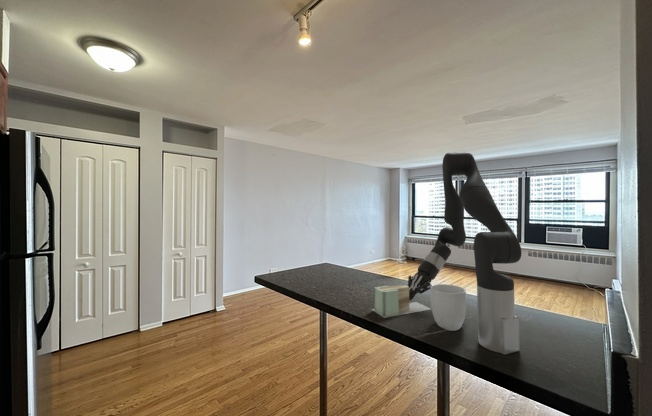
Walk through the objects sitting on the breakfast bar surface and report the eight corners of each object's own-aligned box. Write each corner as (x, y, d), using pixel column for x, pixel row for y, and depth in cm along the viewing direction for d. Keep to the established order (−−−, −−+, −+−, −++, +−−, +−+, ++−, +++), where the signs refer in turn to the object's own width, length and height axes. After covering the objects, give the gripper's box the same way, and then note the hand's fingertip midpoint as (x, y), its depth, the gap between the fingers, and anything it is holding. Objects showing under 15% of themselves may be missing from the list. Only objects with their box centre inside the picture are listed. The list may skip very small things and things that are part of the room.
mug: (451, 315, 99) (450, 280, 99) (480, 326, 90) (479, 288, 90) (424, 324, 92) (423, 287, 92) (453, 337, 82) (452, 295, 83)
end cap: (398, 313, 100) (398, 290, 101) (383, 316, 98) (383, 292, 98) (388, 307, 107) (388, 285, 107) (374, 310, 104) (374, 287, 105)
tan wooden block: (409, 309, 104) (409, 286, 104) (383, 314, 100) (382, 290, 100) (404, 306, 108) (403, 284, 108) (378, 310, 103) (378, 288, 104)
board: (431, 310, 104) (431, 309, 104) (383, 319, 97) (383, 317, 97) (416, 303, 113) (416, 301, 113) (371, 310, 105) (371, 309, 105)
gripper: (415, 257, 116) (392, 288, 111) (437, 262, 103) (412, 298, 99) (425, 268, 118) (403, 299, 113) (448, 274, 105) (424, 310, 101)
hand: (407, 298), depth 106 cm, fingers closed
